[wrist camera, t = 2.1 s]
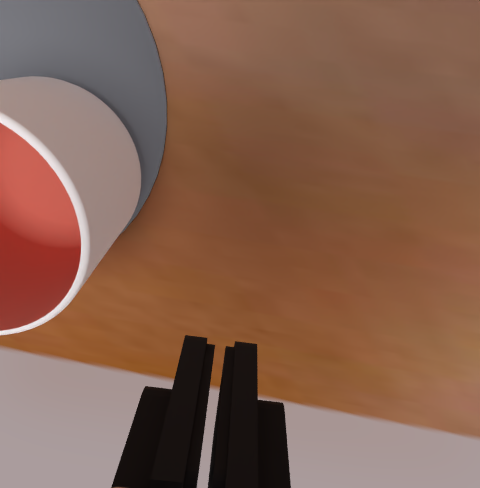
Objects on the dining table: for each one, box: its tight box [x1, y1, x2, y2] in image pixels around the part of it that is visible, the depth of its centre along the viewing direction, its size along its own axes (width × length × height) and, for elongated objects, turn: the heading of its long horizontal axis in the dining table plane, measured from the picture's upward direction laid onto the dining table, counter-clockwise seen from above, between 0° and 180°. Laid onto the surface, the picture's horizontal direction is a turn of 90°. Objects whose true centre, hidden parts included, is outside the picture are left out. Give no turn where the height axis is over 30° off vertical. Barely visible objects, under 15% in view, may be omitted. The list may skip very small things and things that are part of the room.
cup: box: [0, 76, 141, 335], centre depth 22 cm, size 10×10×10 cm
